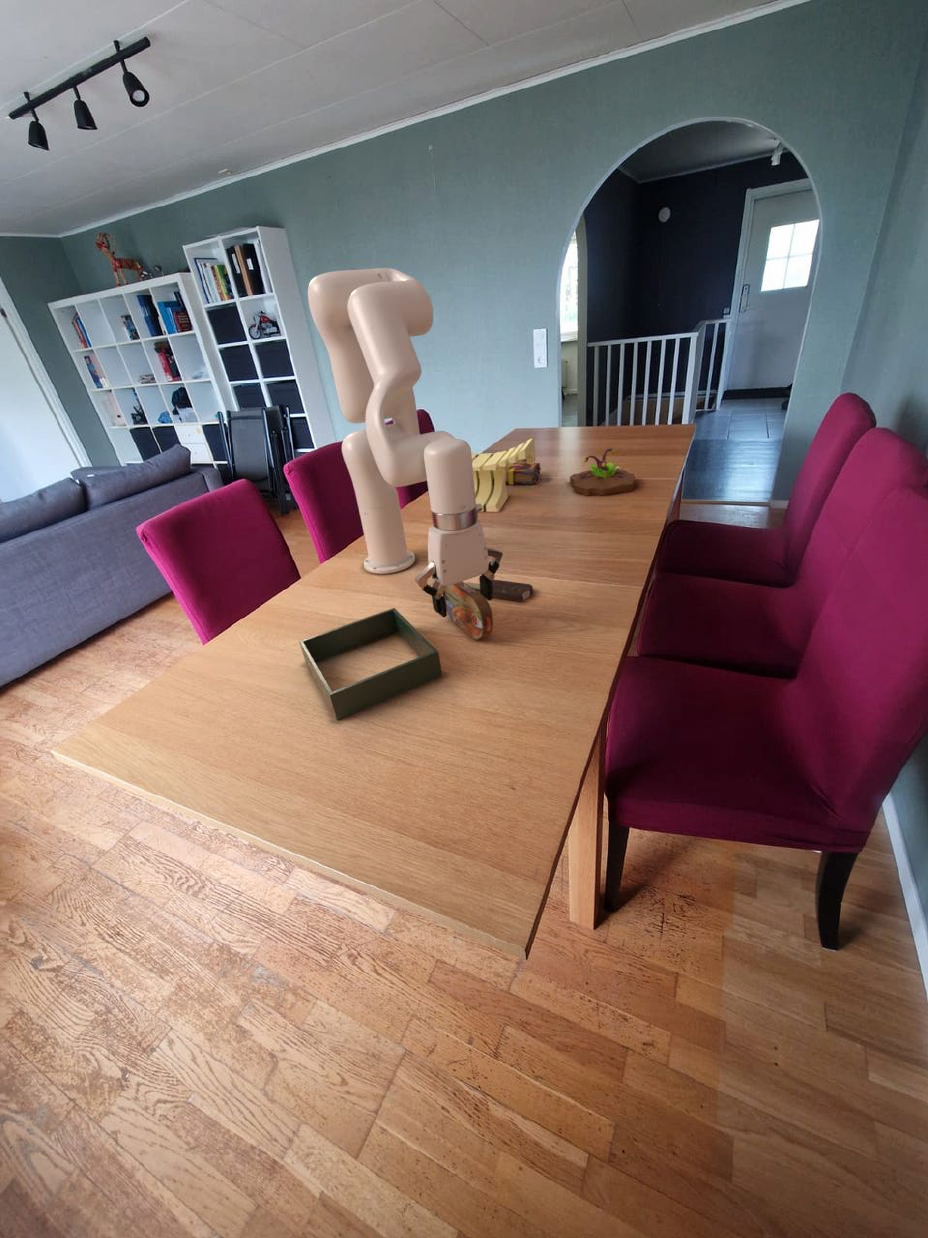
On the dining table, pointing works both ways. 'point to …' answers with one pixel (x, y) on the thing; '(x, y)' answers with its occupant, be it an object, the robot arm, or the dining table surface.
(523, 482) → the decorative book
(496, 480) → the slatted curved stool
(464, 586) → the tin
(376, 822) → the dining table surface
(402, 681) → the box
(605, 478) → the plant
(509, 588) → the ice cream bar
